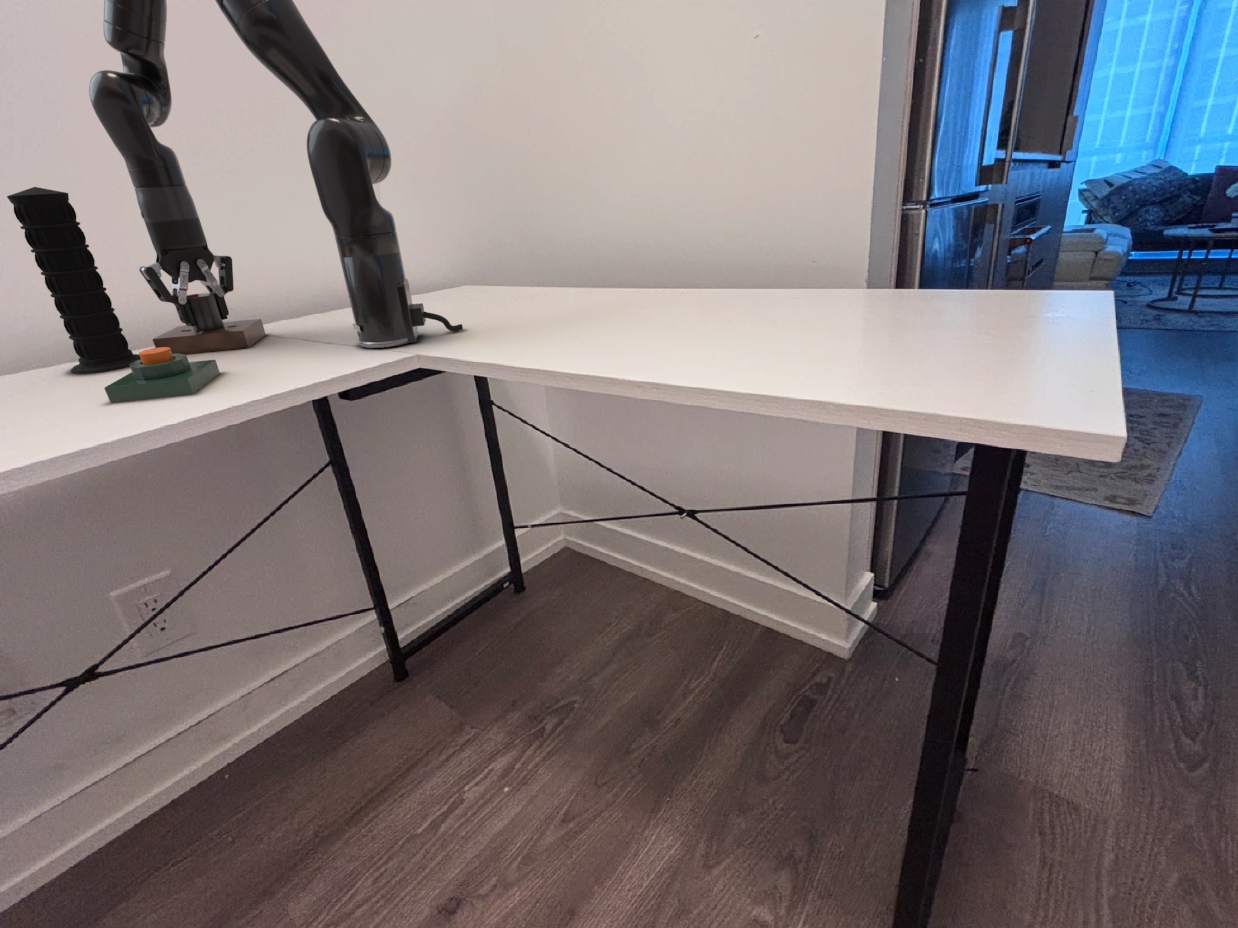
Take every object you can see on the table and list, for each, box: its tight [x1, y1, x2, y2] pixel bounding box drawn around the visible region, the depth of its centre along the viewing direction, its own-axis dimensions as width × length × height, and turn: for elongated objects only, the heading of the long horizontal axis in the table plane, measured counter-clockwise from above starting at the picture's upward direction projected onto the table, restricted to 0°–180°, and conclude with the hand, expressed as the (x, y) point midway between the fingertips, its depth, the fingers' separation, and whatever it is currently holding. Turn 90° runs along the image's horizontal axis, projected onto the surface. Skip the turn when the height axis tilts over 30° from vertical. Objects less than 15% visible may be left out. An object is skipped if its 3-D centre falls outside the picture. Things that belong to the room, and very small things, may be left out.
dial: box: [186, 292, 224, 331], centre depth 107 cm, size 5×5×6 cm
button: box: [138, 347, 174, 365], centre depth 85 cm, size 4×4×2 cm
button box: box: [103, 354, 221, 404], centre depth 86 cm, size 10×10×4 cm
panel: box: [152, 318, 267, 355], centre depth 109 cm, size 14×10×3 cm
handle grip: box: [6, 186, 141, 376], centre depth 95 cm, size 10×26×10 cm
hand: (207, 321), depth 108 cm, fingers closed on dial, 4 cm apart
